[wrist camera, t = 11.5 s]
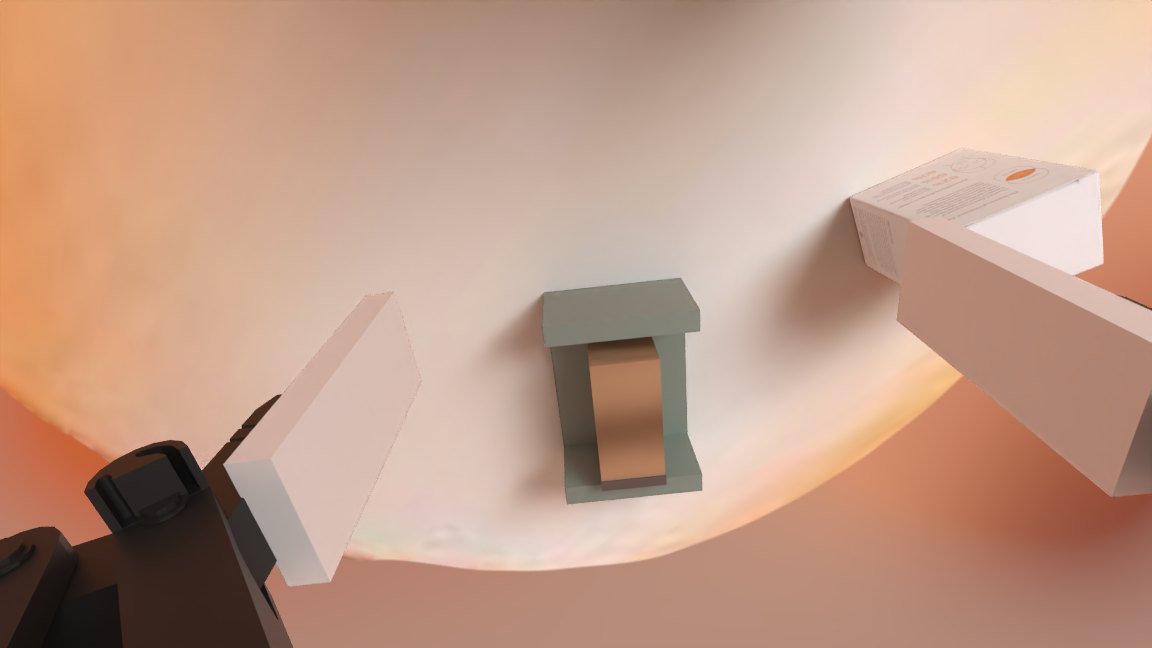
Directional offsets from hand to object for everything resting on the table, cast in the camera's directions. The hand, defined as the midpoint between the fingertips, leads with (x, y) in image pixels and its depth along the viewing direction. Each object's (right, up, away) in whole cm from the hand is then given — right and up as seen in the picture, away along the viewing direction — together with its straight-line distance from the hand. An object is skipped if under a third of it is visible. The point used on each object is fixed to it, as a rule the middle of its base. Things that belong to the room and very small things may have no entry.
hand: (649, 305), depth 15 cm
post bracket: (+2, -4, +29) cm, 29 cm away
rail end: (+2, -5, +28) cm, 29 cm away
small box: (+22, +8, +25) cm, 34 cm away
